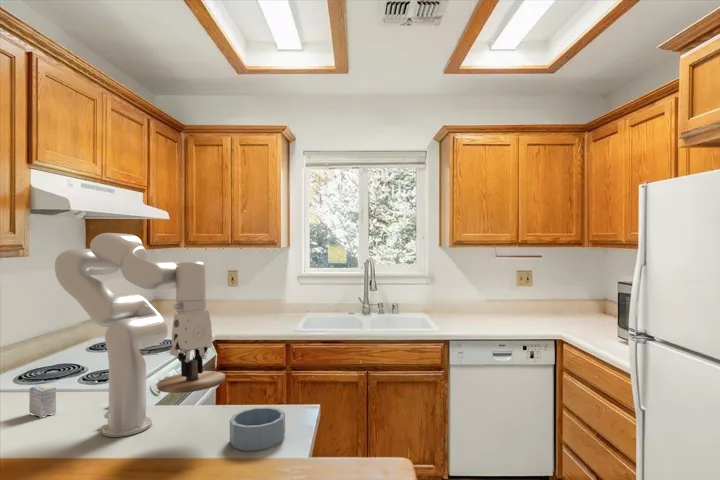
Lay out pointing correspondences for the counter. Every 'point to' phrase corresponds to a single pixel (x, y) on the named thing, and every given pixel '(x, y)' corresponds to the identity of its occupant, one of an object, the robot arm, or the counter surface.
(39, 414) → the medicine box
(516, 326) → the counter surface
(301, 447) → the counter surface
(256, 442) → the bowl
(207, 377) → the lid
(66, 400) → the counter surface
